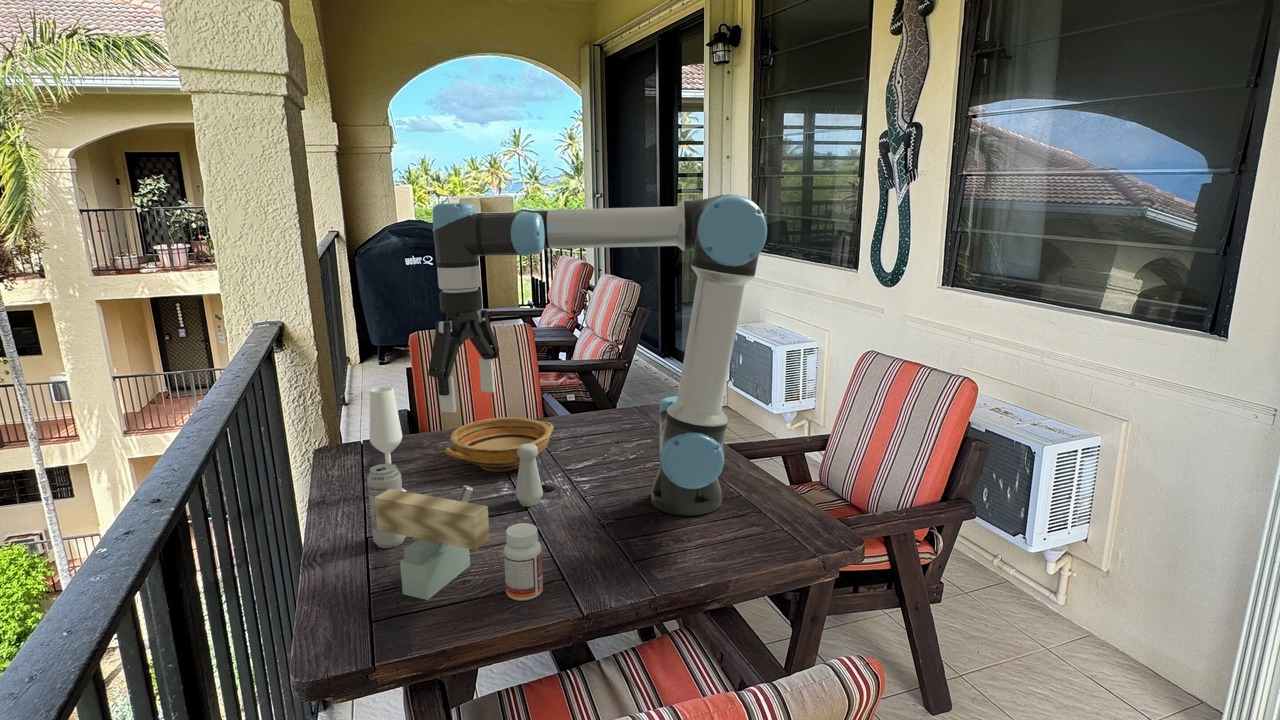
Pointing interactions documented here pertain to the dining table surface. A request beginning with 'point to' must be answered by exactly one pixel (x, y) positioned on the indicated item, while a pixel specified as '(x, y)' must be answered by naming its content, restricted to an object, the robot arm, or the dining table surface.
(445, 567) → the ridge block
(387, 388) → the champagne flute
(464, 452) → the ceramic bowl
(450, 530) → the oak bar
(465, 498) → the lighter
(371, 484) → the energy drink can
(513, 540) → the pill bottle
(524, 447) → the salt shaker
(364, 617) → the dining table surface
